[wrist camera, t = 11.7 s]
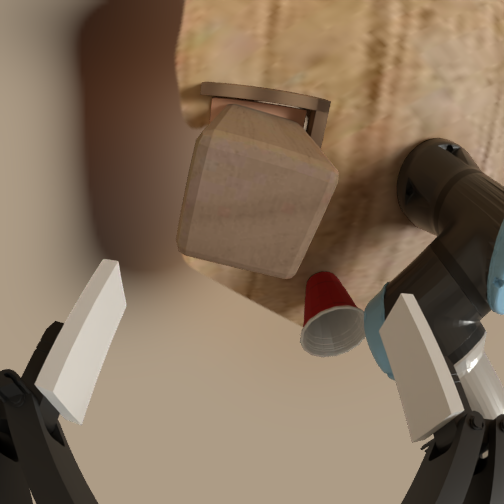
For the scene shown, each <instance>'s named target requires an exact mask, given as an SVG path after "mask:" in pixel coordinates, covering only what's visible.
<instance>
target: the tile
mask: <svg viewBox="0 0 504 504" xmlns="http://www.w3.org/2000/svg"><path fill="white" fill-rule="evenodd" d="M228 104H237V105H241V106H245V107H249V108H252V109H256V110H259V111H263V112H266V113H270V114H273V115H276V116H279V117H283V118H286V119H289V120H292V121H295V122H297V123H298V124H299V125H300V126H301V127H302V128H304V122H305V117H306V112H307V110H303V109H298V108H292V107H287V106H281V105H274V104H268V103H262V102H254V101H246V100H238V99H228V98H217V97H212V105H211V114H210V123H211V122H212V121H213V119H214V118H215V117H216V116H217V115H218V114H219V113H220V112H221V111H222V110H223V109H224V108H225V107H226V106H227V105H228ZM210 123H209V124H210Z"/></svg>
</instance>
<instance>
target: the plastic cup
mask: <svg viewBox="0 0 504 504" xmlns="http://www.w3.org/2000/svg"><path fill="white" fill-rule="evenodd" d="M365 337H366V335H365V330H364V312H363V311H362V310H361V309H360V308H358V307H357V306H356V305H355V303H354V302H353V300H352V299H351V297H350V296H349V294H348V292H347V291H346V289H345V288H344V287H343V286H342V284H341V282H340V281H339V279H338V278H337V277H336V276H335V275H334V274H333V273H330V272H319V273H316V274H314V275H313V276H311V277H310V279H309V280H308V281H307V285H306V297H305V309H304V324H303V329H302V333H301V338H300V343H301V345H302V347H303V349H304V350H305V351H307V352H308V353H310V354H311V355H314V356H319V357H329V356H337V355H340V354H343V353H345V352H348V351H350V350H351V349H353V348H354V347H356V346H357V345H359V344H360V343H361V342H362V340H363V339H364V338H365Z"/></svg>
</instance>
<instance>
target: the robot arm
mask: <svg viewBox="0 0 504 504" xmlns="http://www.w3.org/2000/svg"><path fill="white" fill-rule="evenodd" d="M397 197H398V201H399V204H400V207H401V209H402V211H403V212H404V214H405V215H406V216H407V217H408V218H409V220H410V221H411V222H412V223H413V224H414V225H416V226H417V227H419V228H420V229H423V230H425V231H427V232H429V233H432V234H434V235H436V236H437V238H436V239H435V240H434V241H433V242H432V243H431V244H430V245H428V246H427V247H426V249H425V250H424V251H423V252H422V253H421V254H420V255H419V256H418V257H417V258H416V259H415V260H414V261H413V262H411V263H410V264H409V265H408V266H407V267H406V268H405V269H404V270H403V271H402V272H401V273H400V274H399V275H398V276H396V277H395V278H394V279H393V280H392V281H391V282H387V283H386V284H385V285H384V287H383V289H382V290H381V291H380V292H379V293H378V294H377V295H376V296H375V297H374V298H373V299H372V300H371V301H370V302H369V303H368V304H367V306H366V308H365V311H364V330H365V335H366V339H367V342H368V345H369V348H370V350H371V352H372V355H373V357H374V358H375V360H376V362H377V364H378V366H379V367H380V368H381V369H382V371H383V372H384V373H387V375H388V377H389V378H390V379H393V380H395V381H396V385H397V388H398V392H399V395H400V399H401V402H402V406H403V409H404V413H405V417H406V421H407V425H408V428H409V432H410V436H411V441H412V443H413V442H417V441H421V440H425V439H426V438H428V437H429V436H431V435H432V434H434V439H432V440H431V441H429V442H428V443H427V444H425V445H423V446H422V448H421V450H423V449H425V448H426V447H428V446H429V447H428V449H426V450H425V452H426V454H425V457H424V459H423V461H422V463H421V466H420V468H419V470H418V472H417V474H416V476H415V478H414V480H413V482H412V485H411V486H410V488H409V490H408V492H407V494H406V496H405V498H404V500H403V501H402V503H401V504H504V387H503V385H502V383H501V381H500V380H499V377H498V375H497V374H496V372H495V370H494V368H493V366H492V364H491V362H490V361H489V359H488V357H487V356H486V354H485V352H484V344H485V339H486V333H487V332H486V330H485V329H484V327H483V325H482V324H481V322H480V320H481V319H482V318H483V317H484V316H485V315H486V314H487V313H488V312H489V311H490V310H492V311H493V312H496V313H498V314H504V186H502V185H501V184H499V183H498V182H496V181H495V180H493V179H492V178H490V177H489V176H487V175H486V174H484V173H483V172H482V171H481V170H480V169H479V167H478V166H477V164H476V163H475V162H474V160H473V159H472V157H471V156H470V155H469V153H468V152H467V151H466V150H465V149H464V148H462V147H461V146H459V145H458V144H456V143H454V142H452V141H450V140H447V139H442V138H436V139H431V140H428V141H425V142H423V143H421V144H420V145H418V146H417V147H416V148H415V149H414V150H413V151H412V152H411V153H410V154H409V155H408V157H407V158H406V160H405V161H404V163H403V165H402V167H401V170H400V173H399V177H398V182H397ZM126 306H127V305H126V301H125V295H124V290H123V285H122V280H121V274H120V269H119V263H118V261H113V260H106V259H103V260H102V262H101V264H100V265H99V267H98V268H97V270H96V271H95V273H94V274H93V276H92V278H91V279H90V281H89V282H88V284H87V286H86V287H85V289H84V291H83V292H82V294H81V296H80V297H79V299H78V301H77V302H76V304H75V306H74V307H73V309H72V311H71V313H70V315H69V316H68V318H67V320H66V322H65V324H64V323H60V322H57V321H55V322H54V323H53V324H52V325H50V326H49V327H48V328H47V329H46V331H45V333H44V334H43V336H42V338H41V341H40V342H39V343H38V346H37V347H36V348H37V349H36V350H35V351H34V353H33V355H32V357H31V359H30V361H29V363H28V365H27V367H26V369H25V371H24V373H23V375H22V377H21V378H20V376H19V375H18V374H17V373H16V372H14V371H13V370H10V369H6V370H2V371H0V504H33V502H32V497H31V493H30V490H31V492H32V495H33V497H34V499H35V501H36V504H98V502H97V501H96V499H95V497H94V495H93V494H92V492H91V490H90V488H89V486H88V485H87V483H86V481H85V479H84V477H83V475H82V473H81V471H80V469H79V467H78V465H77V463H76V461H75V459H74V456H73V454H72V452H71V450H70V448H69V445H68V443H67V440H66V438H65V436H64V433H63V431H62V428H61V425H60V423H59V421H58V417H59V414H61V415H62V416H63V417H64V418H65V419H66V420H69V421H72V422H74V423H77V424H80V425H82V423H83V419H84V416H85V413H86V410H87V407H88V404H89V401H90V398H91V395H92V392H93V389H94V386H95V384H96V381H97V378H98V375H99V373H100V370H101V367H102V365H103V361H104V359H105V357H106V354H107V352H108V349H109V346H110V344H111V341H112V339H113V337H114V334H115V331H116V329H117V327H118V324H119V322H120V319H121V317H122V315H123V313H124V310H125V308H126Z"/></svg>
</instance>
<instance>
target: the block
mask: <svg viewBox="0 0 504 504" xmlns="http://www.w3.org/2000/svg"><path fill="white" fill-rule="evenodd" d="M337 184H338V170H337V169H336V168H335V166H334V165H333V164H332V163H331V161H330V160H329V159H328V158H327V156H326V155H325V154H324V153H323V151H322V150H321V149H320V148H319V147H318V145H317V144H316V143H315V142H314V141H313V139H312V138H311V137H310V136H309V135H308V134H307V132H306V131H305V130H304V129H303V128H302V127H301V126H300V125H299V124H298V123H297V122H295V121H292V120H289V119H286V118H283V117H279V116H276V115H273V114H270V113H266V112H263V111H259V110H256V109H252V108H249V107H245V106H241V105H237V104H228V105H227V106H226V107H225V108H224V109H223V110H222V111H221V112H220V113H219V114H218V115H217V116H216V117H215V118H214V119H213V121H212V122H211V123H210V124H209V125H208V126H207V127H206V128H205V129H204V130H203V132H202V133H201V134H200V136H199V137H198V138H197V140H196V143H195V147H194V152H193V156H192V160H191V165H190V169H189V174H188V179H187V184H186V188H185V194H184V198H183V204H182V209H181V214H180V220H179V225H178V230H177V237H176V242H177V245H178V251H179V252H181V253H182V254H184V255H186V256H190V257H194V258H198V259H202V260H206V261H210V262H215V263H219V264H223V265H227V266H231V267H235V268H239V269H244V270H248V271H252V272H256V273H261V274H265V275H269V276H273V277H278V278H282V279H289V278H292V277H293V276H294V275H295V274H296V272H297V270H298V268H299V266H300V264H301V262H302V260H303V258H304V256H305V254H306V252H307V249H308V247H309V245H310V243H311V241H312V239H313V237H314V235H315V232H316V230H317V228H318V226H319V224H320V222H321V219H322V217H323V215H324V213H325V211H326V208H327V206H328V204H329V202H330V199H331V197H332V195H333V193H334V190H335V188H336V186H337Z"/></svg>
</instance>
